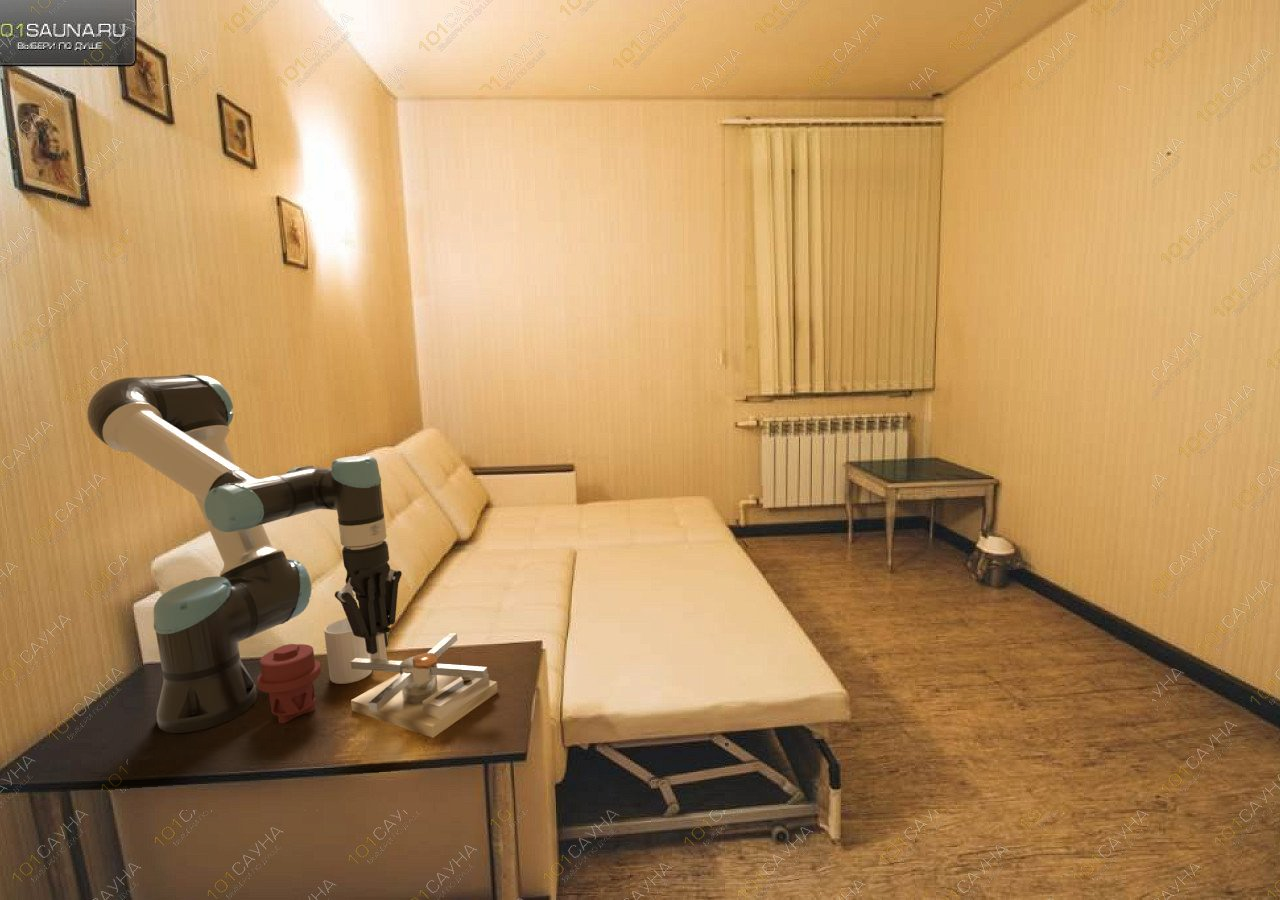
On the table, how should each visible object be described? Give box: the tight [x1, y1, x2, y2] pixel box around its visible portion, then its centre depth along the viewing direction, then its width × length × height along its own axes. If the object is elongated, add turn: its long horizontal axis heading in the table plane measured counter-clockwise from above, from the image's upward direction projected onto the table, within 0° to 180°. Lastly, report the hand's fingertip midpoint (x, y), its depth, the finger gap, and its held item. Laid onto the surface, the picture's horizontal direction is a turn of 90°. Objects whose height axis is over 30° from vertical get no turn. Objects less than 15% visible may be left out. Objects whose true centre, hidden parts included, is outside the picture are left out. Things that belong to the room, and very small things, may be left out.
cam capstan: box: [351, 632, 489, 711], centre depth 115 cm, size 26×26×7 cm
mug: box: [323, 617, 389, 685], centre depth 129 cm, size 12×8×10 cm, turn 84°
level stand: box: [350, 672, 498, 738], centre depth 118 cm, size 20×16×6 cm
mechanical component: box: [256, 643, 322, 724], centre depth 115 cm, size 12×10×10 cm
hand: (379, 666), depth 119 cm, fingers closed
